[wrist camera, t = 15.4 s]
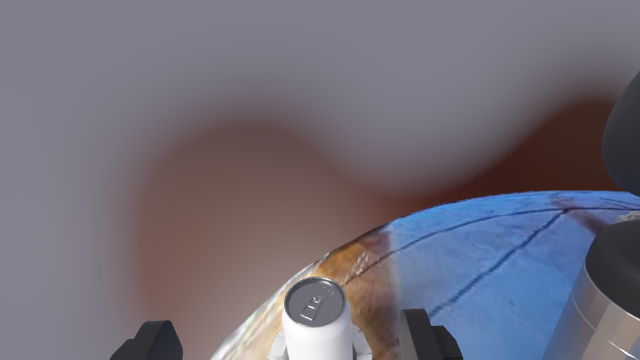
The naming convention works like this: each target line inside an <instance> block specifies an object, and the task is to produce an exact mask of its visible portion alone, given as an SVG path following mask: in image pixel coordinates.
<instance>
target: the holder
mask: <svg viewBox="0 0 640 360" xmlns="http://www.w3.org/2000/svg"><path fill="white" fill-rule="evenodd" d="M278 335H279V336H276V338H275V340H274V343H273V345H272V348H271V350H270V352H269V355H268V360H289V356H288V351H287V345H286V340H285V334H284V329H283V330H281V331H280V332H279V333H278ZM352 352H353V360H372V351H371V349H370V347H369V345H368V342H367V340H366V338H365V336H364V333H363V331H362V332H361V329H360V328H359V327H357V326H356V325H355V324H353V323H352Z"/></svg>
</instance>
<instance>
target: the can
mask: <svg viewBox="0 0 640 360" xmlns="http://www.w3.org/2000/svg"><path fill="white" fill-rule="evenodd" d="M282 322H283V328H284V334H285V340H286V345H287V351H288V356H289V360H353V352H352V321H351V309H350V304H349V302H348V300H347V298H346V295H345V292H344V290H343V289H342V287H341V286H340V285H339V284H338V283H337V282H335V281H333V280H331V279H329V278H325V277H309V278H306V279H303V280H301V281H299V282H297V283H296V284H294V285H293V286H292V287H291V288H290V289H289V291H288V292H287V294H286V297H285V301H284V307H283V311H282Z"/></svg>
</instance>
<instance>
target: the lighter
mask: <svg viewBox="0 0 640 360" xmlns="http://www.w3.org/2000/svg"><path fill="white" fill-rule="evenodd" d="M637 219H640V211H629V213H628V215H618V216H617V218H616V220H615V223H618V222H623V221H629V220H637ZM615 223H614V224H615Z"/></svg>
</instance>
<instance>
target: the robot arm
mask: <svg viewBox="0 0 640 360" xmlns="http://www.w3.org/2000/svg"><path fill="white" fill-rule="evenodd" d="M602 152H603V160H604V163H605V166H606V169H607V171H608V172H609V174H610V176H611V177H612V179H613V180H614V181H615V182H616V183H617V184H618V185H619V186H620V187H622V188H623V189H625V190H627V191H628V192H630V193H632V194H634V195H636V196H639V197H640V71H639V73H638V74H637V75H636V76H635V77H634V78H633V80H632V81H631V82H630V83H629V85H628V86H627V87H626V89H625V90H624V92H623V93H622V95H621V96H620V98H619V99H618V101H617V103H616V104H615V106H614V108H613V110H612V112H611V114H610V117H609V119H608V122H607V124H606V127H605V130H604V135H603V141H602ZM399 346H400V353H401V358H402V360H463V356H462V354H461V351H460V349H459V347H458V344H457V342H456V340H455V339H454V337H453V336H452V335H451V334H450V333H449V332H448V331H447V329H446V328H445V327H444V326H431V324H430V321H429V318H428V315H427V313H426V311H425V310H424V309H407V310H402V311H401V319H400V332H399ZM182 357H183V349H182V345H181V343H180V341H179V338H178V336H177V334H176V332H175V329H174V327H173V325H172V323H171V321H169V320H164V321H147V322H145V323H144V324H143V325H142V326H141V328H140V329H139V331H138V333H137V335H136V336H135V338H134V339H128V340H127V341H126V342H125V343H124V344H123V345H122V346H121V347H120V348H119V349H118V350H117V351H116V352H115V353H114V354H113V355H112V357H111V358H110V360H182ZM542 360H640V219H637V220H629V221H623V222H618V223H615V224H612V225H610V226H608V227H606V228H604V229H603V230H602V231H600V232H599V233H598V234H597V236H596V237H595V239H594V240H593V242H592V244H591V246H590V249H589V251H588V253H587V256H586V258H585V261H584V263H583V265H582V268H581V270H580V272H579V274H578V277H577V279H576V281H575V284H574V287H573V289H572V291H571V293H570V296H569V298H568V300H567V303H566V305H565V307H564V309H563V312H562V314H561V316H560V319H559V321H558V323H557V326H556V328H555V330H554V332H553V335H552V337H551V339H550V342H549V344H548V346H547V349H546V351H545V353H544V355H543V358H542Z"/></svg>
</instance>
